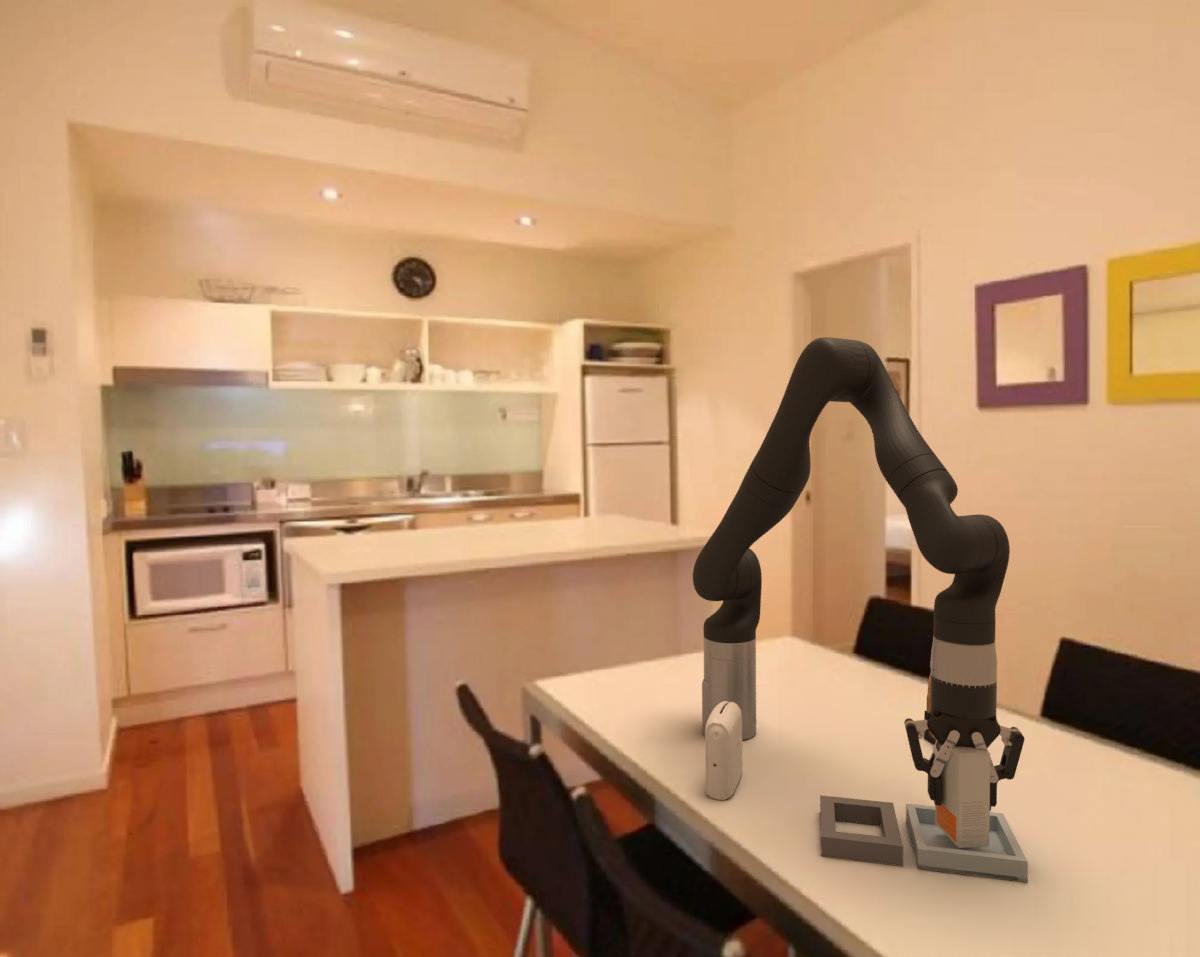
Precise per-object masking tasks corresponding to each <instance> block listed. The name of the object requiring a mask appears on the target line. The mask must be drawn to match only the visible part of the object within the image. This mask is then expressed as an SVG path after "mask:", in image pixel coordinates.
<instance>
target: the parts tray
mask: <svg viewBox="0 0 1200 957" xmlns="http://www.w3.org/2000/svg"><path fill="white" fill-rule="evenodd" d="M905 822H906V826H907V830H908V834H909V839H910V842H911V847H912V849H913V855H914V859H915V862H916V866H917V867H916V868H917V869H918V870H925V871H934V872H942V873H949V874H950V873H951V874H955V875H956V874H957V875H964V876H965V875H967V876H974V877H981V878H989V879H998V880H1006V881H1013V882H1021V881H1023V883H1028V878H1029V877H1028V876H1029V875H1028V873H1029V868H1028V866H1029V861H1028V859H1027V857H1026V856H1025V854H1024V852H1023V849H1022V848H1021V846H1020V844H1019V842H1018V840H1017V838H1016V836H1015V833H1014V832H1013V830H1012V829H1011V826H1010V824H1009V822H1008V820H1007V819H1006V816H1005V815H1004V813H1002V812H992V811H990V826H989V846H987V847H966V848H958V847H957V846H956V845H955V844H954V843H953V842H952V841H951V839H950V838H949V837H948V836H947V835H946V834H945V833H944V832H943V831H942V830H941V829H940V828H939V827H938V826H937V825H936V824H935V805H934V806H933V805H926V804H924V805H923V804H914V803H905ZM1024 881H1025V882H1024Z"/></svg>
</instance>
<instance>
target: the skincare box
mask: <svg viewBox="0 0 1200 957" xmlns="http://www.w3.org/2000/svg"><path fill="white" fill-rule="evenodd" d="M936 741H937V740H936ZM938 745H939V748H940V749H941V745H940V744H939V742H938ZM990 757H991V753H990V752H989V751H984V750H983V749H981V750H976V748H971V747H958V746H954V748H951V751H950V757H949V759H948V762H947V763H945V765H944V767H943V769H942V772H941V774H940V775H941V778H942V793H941V806H939V805H935V804H934V806H935V824H936V825H937V826H938V827H939V828H940V829H941V830H942V831H943V832H944V833H945V834H946V835H947V836H948V837H949V838H950V839H951V841H952V842H953V843H954V844H955V845H956V846H957V847H958V848H966V847H987V846H989V826H990V812H991V811H990Z"/></svg>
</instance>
